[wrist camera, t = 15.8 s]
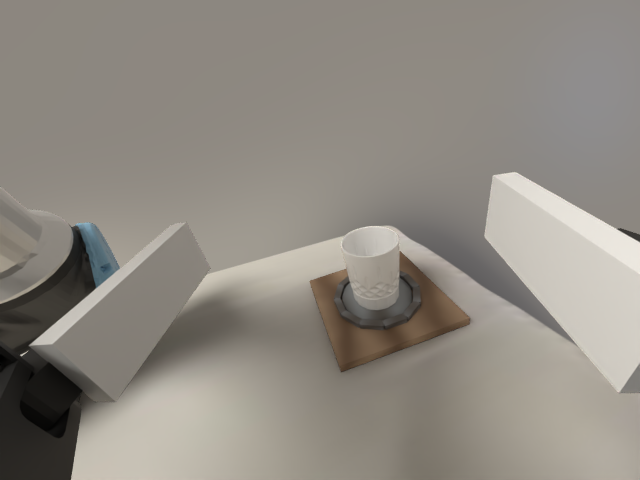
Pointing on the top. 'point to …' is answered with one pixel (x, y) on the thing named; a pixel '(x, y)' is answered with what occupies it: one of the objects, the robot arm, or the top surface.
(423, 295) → the coaster board
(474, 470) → the top surface
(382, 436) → the top surface
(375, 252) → the white cup
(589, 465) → the top surface
